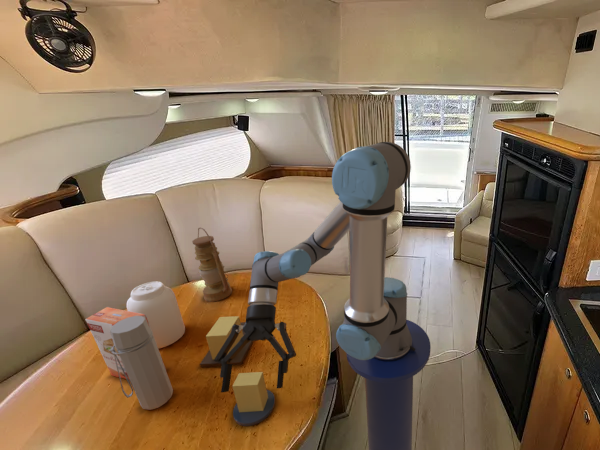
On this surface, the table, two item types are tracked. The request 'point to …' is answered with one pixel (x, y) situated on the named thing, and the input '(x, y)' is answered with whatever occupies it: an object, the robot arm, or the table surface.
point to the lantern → (211, 269)
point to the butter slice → (250, 392)
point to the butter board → (235, 361)
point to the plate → (254, 413)
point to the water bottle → (141, 362)
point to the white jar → (158, 311)
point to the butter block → (222, 334)
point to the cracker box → (109, 335)
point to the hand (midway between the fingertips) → (252, 390)
